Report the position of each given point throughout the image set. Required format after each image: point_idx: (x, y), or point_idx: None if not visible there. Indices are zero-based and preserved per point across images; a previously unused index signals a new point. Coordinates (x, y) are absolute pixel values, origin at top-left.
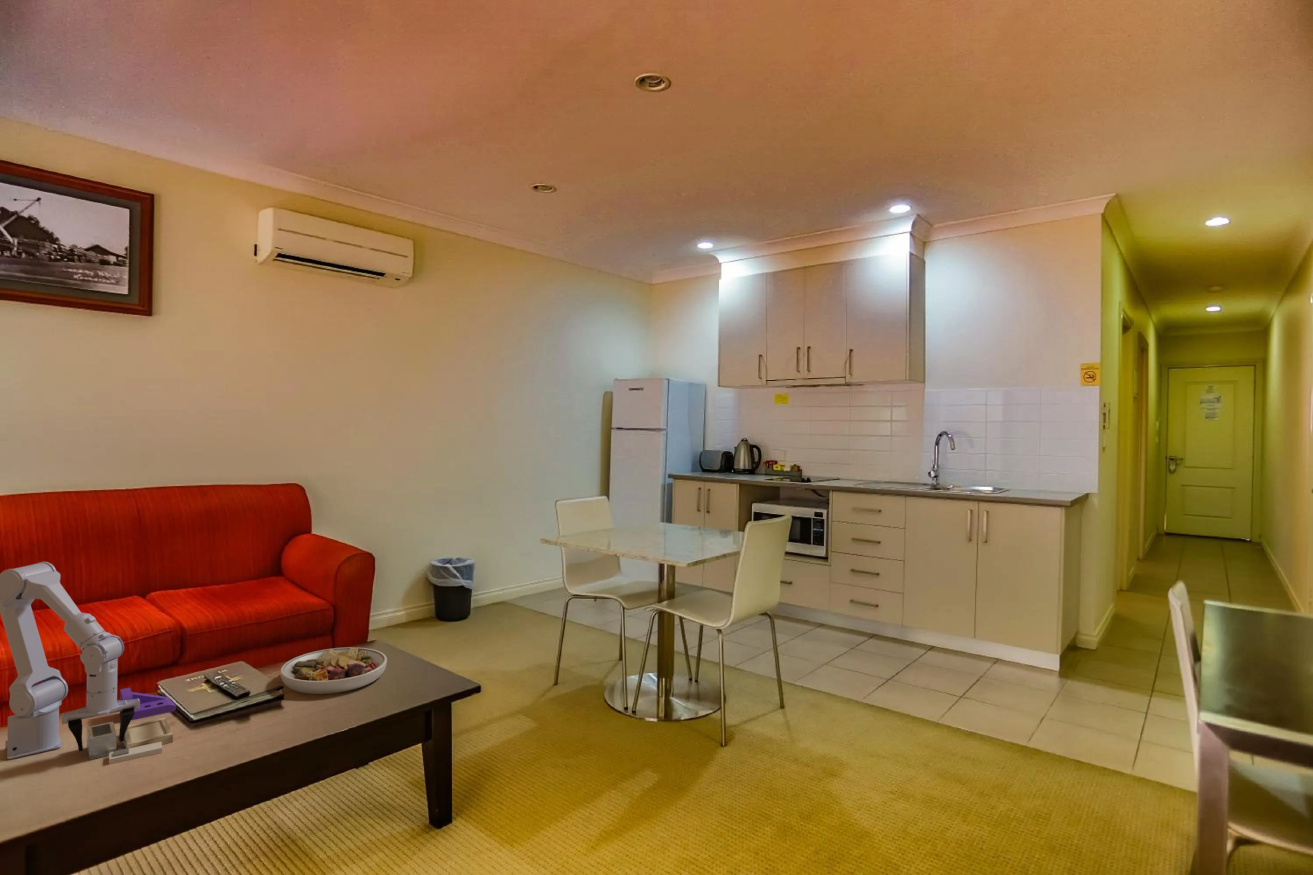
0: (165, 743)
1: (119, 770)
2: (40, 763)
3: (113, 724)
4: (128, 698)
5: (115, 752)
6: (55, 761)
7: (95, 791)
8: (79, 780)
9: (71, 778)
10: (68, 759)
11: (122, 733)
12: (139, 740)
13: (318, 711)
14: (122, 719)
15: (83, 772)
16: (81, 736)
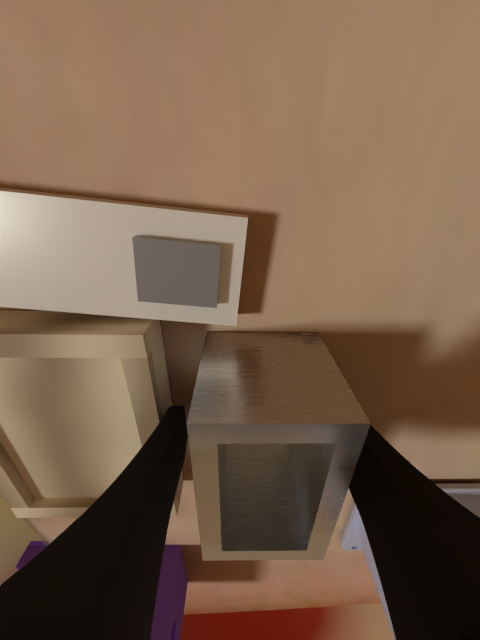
0: None
1: (196, 18)
2: (457, 410)
3: (201, 534)
4: None
5: (208, 285)
6: (415, 398)
7: None
8: (449, 27)
9: (462, 122)
10: (375, 388)
11: (160, 440)
12: (79, 351)
13: None
14: (112, 567)
15: (382, 179)
16: (395, 479)
